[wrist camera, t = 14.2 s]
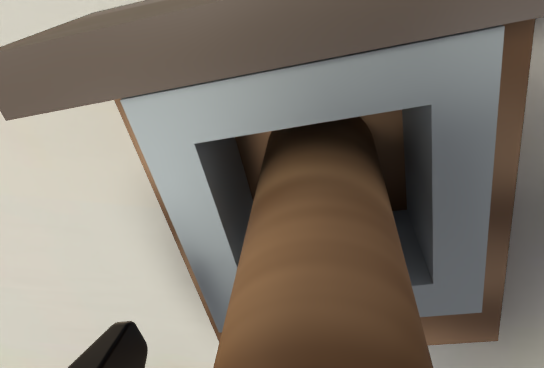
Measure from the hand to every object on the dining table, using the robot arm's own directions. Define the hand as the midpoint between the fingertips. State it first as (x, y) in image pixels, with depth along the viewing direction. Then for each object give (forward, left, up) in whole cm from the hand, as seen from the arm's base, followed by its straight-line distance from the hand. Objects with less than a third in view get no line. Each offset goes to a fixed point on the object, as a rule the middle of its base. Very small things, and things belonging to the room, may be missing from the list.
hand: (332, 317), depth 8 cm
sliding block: (0, 0, -8) cm, 8 cm away
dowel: (0, 0, -8) cm, 8 cm away
